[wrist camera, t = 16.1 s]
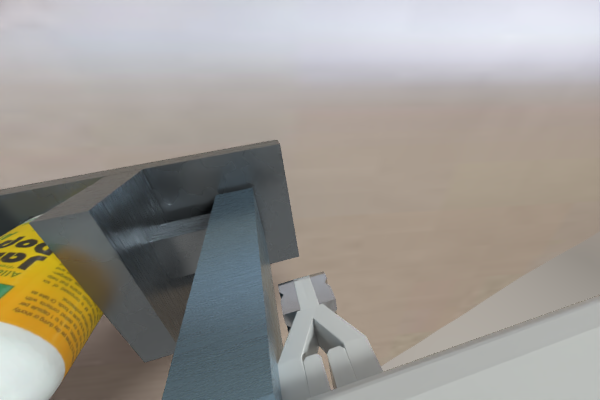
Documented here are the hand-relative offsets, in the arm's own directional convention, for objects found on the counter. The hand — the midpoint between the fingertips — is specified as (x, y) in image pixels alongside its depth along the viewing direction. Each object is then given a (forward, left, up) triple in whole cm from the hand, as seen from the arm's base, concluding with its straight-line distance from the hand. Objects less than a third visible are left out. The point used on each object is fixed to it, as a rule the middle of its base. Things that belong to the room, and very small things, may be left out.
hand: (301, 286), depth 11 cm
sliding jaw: (-6, 0, -8) cm, 10 cm away
